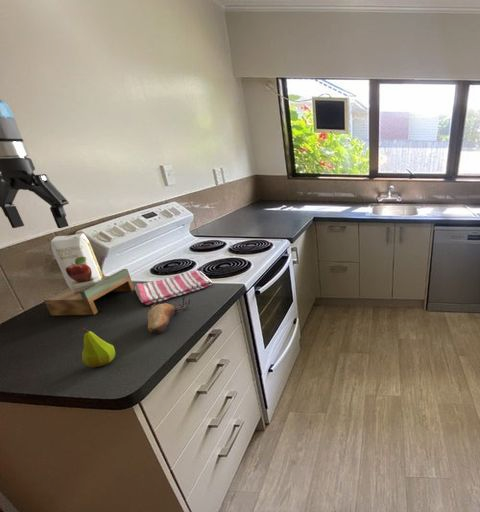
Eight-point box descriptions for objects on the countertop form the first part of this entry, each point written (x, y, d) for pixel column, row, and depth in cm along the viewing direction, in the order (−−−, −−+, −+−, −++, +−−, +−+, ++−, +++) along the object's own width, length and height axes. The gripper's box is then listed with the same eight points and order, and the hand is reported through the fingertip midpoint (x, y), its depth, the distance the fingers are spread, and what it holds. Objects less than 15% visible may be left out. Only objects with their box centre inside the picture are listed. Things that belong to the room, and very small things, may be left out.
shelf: (51, 315, 97) (39, 292, 93) (98, 290, 113) (89, 269, 110) (94, 314, 97) (84, 291, 94) (134, 289, 114) (127, 268, 111)
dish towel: (135, 291, 112) (132, 284, 111) (201, 273, 128) (199, 266, 127) (143, 308, 101) (140, 299, 100) (215, 285, 117) (213, 278, 116)
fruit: (124, 354, 79) (109, 318, 75) (107, 371, 73) (89, 332, 69) (99, 356, 78) (82, 319, 74) (79, 373, 73) (60, 334, 68)
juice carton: (74, 286, 103) (51, 236, 96) (106, 280, 108) (87, 231, 101) (69, 294, 98) (46, 242, 91) (103, 287, 103) (83, 237, 96)
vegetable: (189, 323, 88) (162, 301, 83) (155, 346, 86) (126, 324, 81) (196, 301, 101) (174, 281, 97) (167, 321, 99) (143, 301, 95)
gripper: (68, 157, 88) (92, 224, 96) (-19, 155, 87) (13, 223, 95) (42, 158, 81) (70, 230, 89) (-53, 157, 80) (-16, 230, 88)
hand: (41, 227), depth 92 cm, fingers open, 13 cm apart
